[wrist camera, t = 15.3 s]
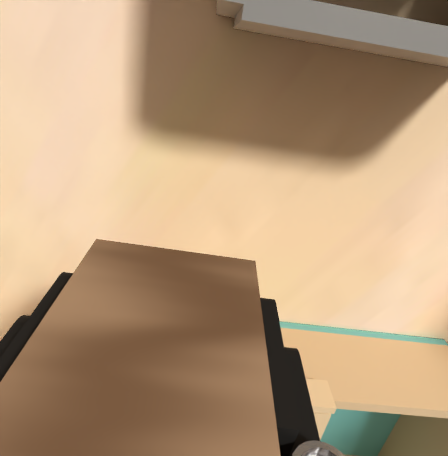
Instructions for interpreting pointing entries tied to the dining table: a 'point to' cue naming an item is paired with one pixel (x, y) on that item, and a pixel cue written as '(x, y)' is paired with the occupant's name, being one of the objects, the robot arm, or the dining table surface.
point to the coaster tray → (341, 28)
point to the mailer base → (378, 388)
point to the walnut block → (145, 361)
